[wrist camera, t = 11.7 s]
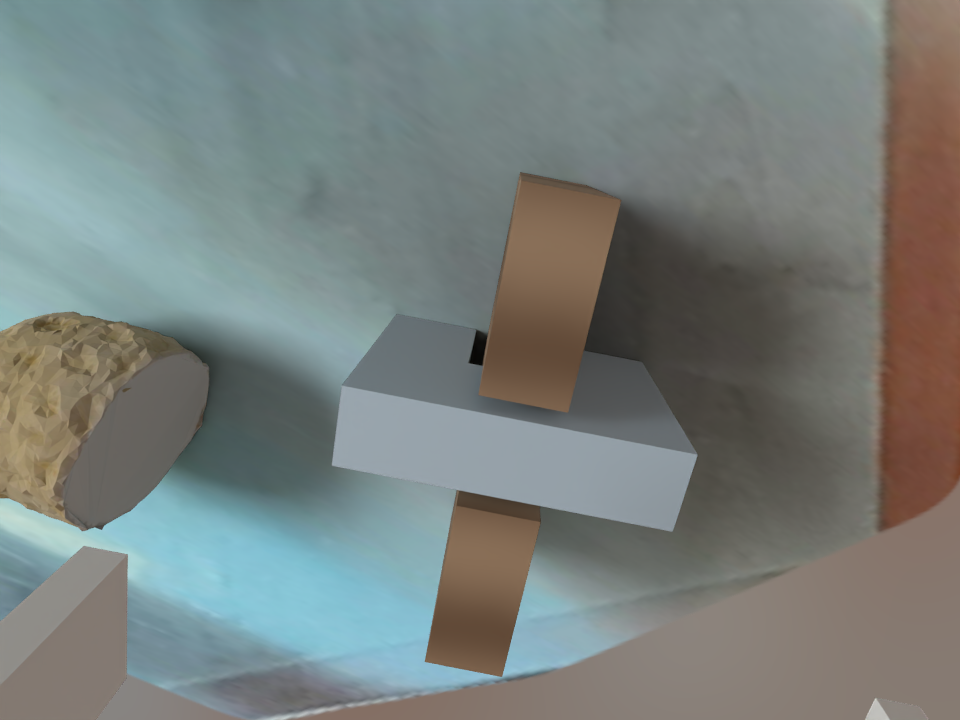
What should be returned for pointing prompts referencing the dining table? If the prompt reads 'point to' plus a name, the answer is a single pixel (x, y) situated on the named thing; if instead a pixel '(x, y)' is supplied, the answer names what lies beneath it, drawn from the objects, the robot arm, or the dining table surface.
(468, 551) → the walnut board
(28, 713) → the robot arm
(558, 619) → the dining table surface
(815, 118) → the dining table surface
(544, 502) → the grey slotted slab
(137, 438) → the tan rough cut rock
